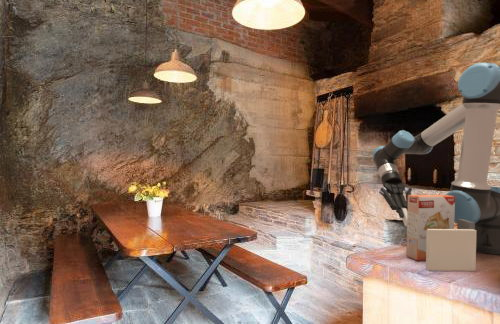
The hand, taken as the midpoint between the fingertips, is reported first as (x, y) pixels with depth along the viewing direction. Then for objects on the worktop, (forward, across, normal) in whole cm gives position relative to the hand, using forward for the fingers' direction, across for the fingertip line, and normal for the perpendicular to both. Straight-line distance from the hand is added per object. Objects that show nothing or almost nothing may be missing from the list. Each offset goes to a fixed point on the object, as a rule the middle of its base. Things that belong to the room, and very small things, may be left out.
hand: (408, 224), depth 127 cm
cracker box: (+16, 0, +4) cm, 17 cm away
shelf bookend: (+21, 0, +10) cm, 24 cm away
